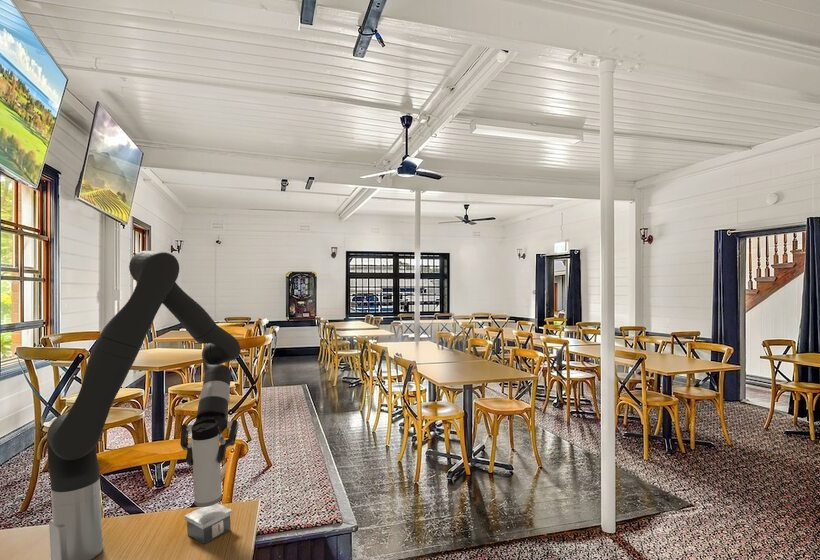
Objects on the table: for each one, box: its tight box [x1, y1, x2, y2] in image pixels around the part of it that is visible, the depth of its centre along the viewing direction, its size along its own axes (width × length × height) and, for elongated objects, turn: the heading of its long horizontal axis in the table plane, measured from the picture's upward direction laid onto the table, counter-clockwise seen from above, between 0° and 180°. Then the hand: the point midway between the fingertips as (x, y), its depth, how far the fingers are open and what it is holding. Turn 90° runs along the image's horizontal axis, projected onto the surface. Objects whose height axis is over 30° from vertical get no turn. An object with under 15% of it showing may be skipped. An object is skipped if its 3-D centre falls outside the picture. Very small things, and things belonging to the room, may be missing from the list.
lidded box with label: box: [183, 502, 233, 545], centre depth 116 cm, size 8×8×5 cm
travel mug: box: [191, 418, 223, 508], centre depth 116 cm, size 6×7×20 cm
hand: (205, 463), depth 114 cm, fingers closed on travel mug, 6 cm apart
